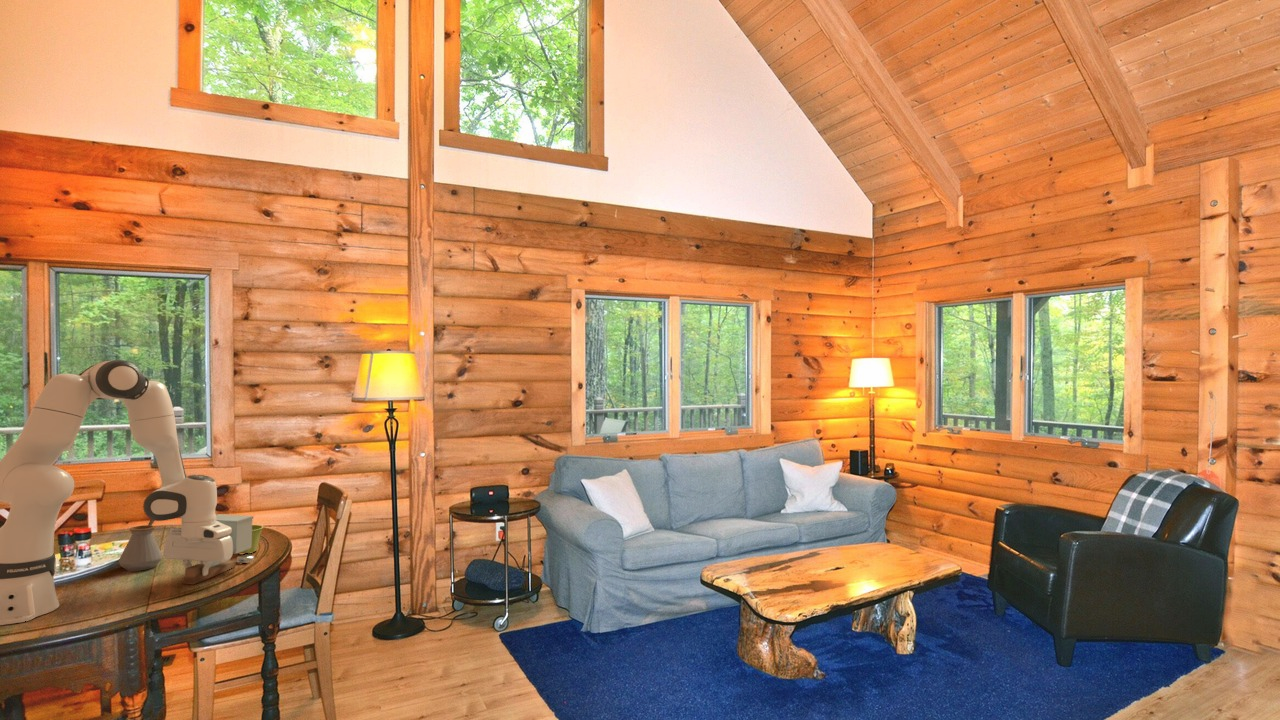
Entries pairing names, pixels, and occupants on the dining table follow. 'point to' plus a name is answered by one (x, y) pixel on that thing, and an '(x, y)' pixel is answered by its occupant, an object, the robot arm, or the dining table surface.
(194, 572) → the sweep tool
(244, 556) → the steel token
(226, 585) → the dining table surface
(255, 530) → the plant pot
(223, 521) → the grey cube on pedestal
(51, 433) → the robot arm
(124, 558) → the coffee pot
